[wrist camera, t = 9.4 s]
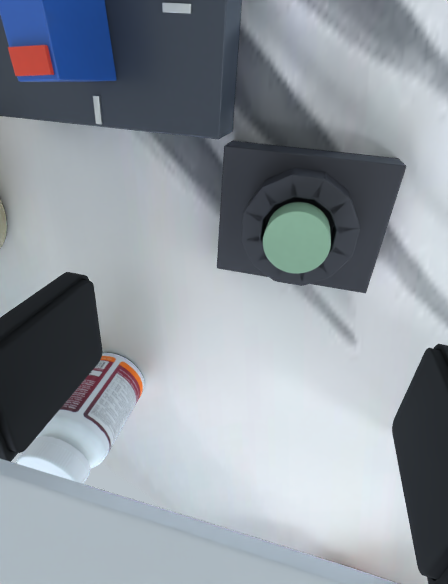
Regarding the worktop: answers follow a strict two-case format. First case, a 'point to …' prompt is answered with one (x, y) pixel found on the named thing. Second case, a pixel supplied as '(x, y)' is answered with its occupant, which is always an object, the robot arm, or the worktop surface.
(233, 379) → the worktop surface
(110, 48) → the blue flat block
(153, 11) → the panel
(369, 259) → the block
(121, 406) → the pill bottle
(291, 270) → the button
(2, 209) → the planter bowl
